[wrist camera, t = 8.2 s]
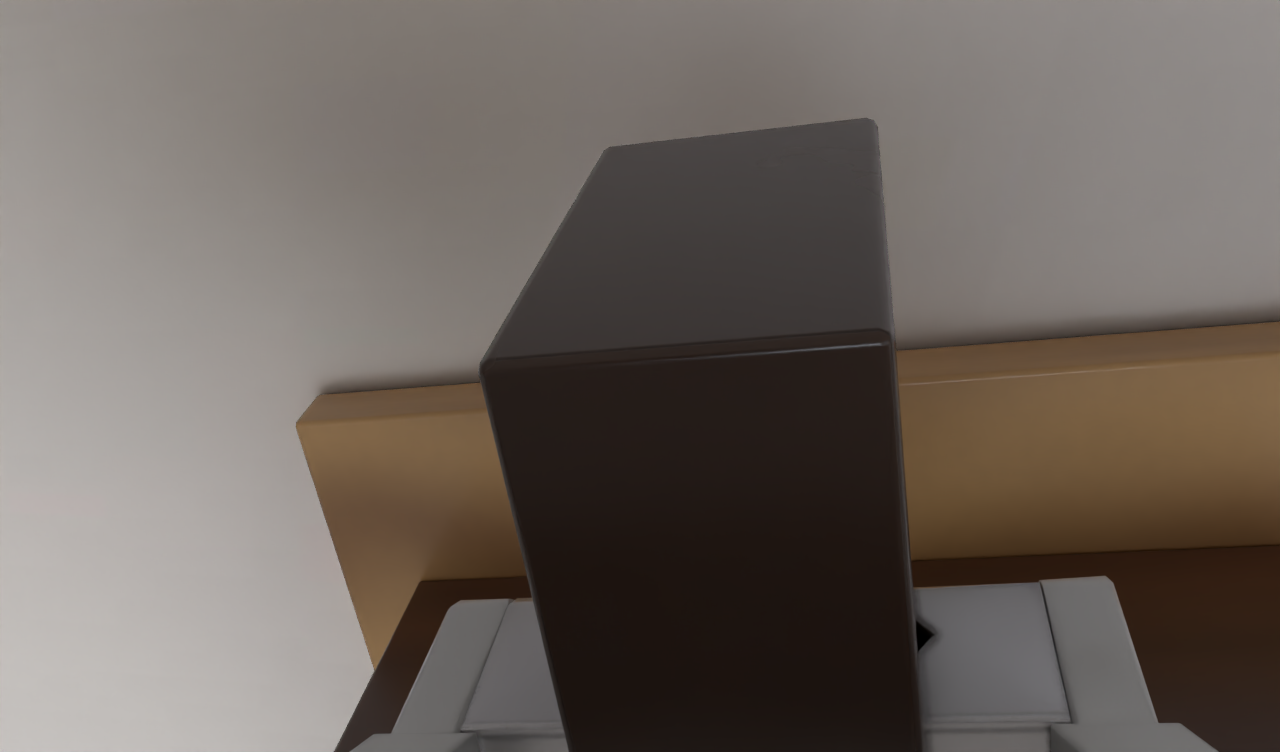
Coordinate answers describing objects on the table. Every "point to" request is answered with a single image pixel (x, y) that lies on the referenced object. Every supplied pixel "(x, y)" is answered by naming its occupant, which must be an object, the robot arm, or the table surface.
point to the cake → (910, 505)
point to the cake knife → (716, 450)
